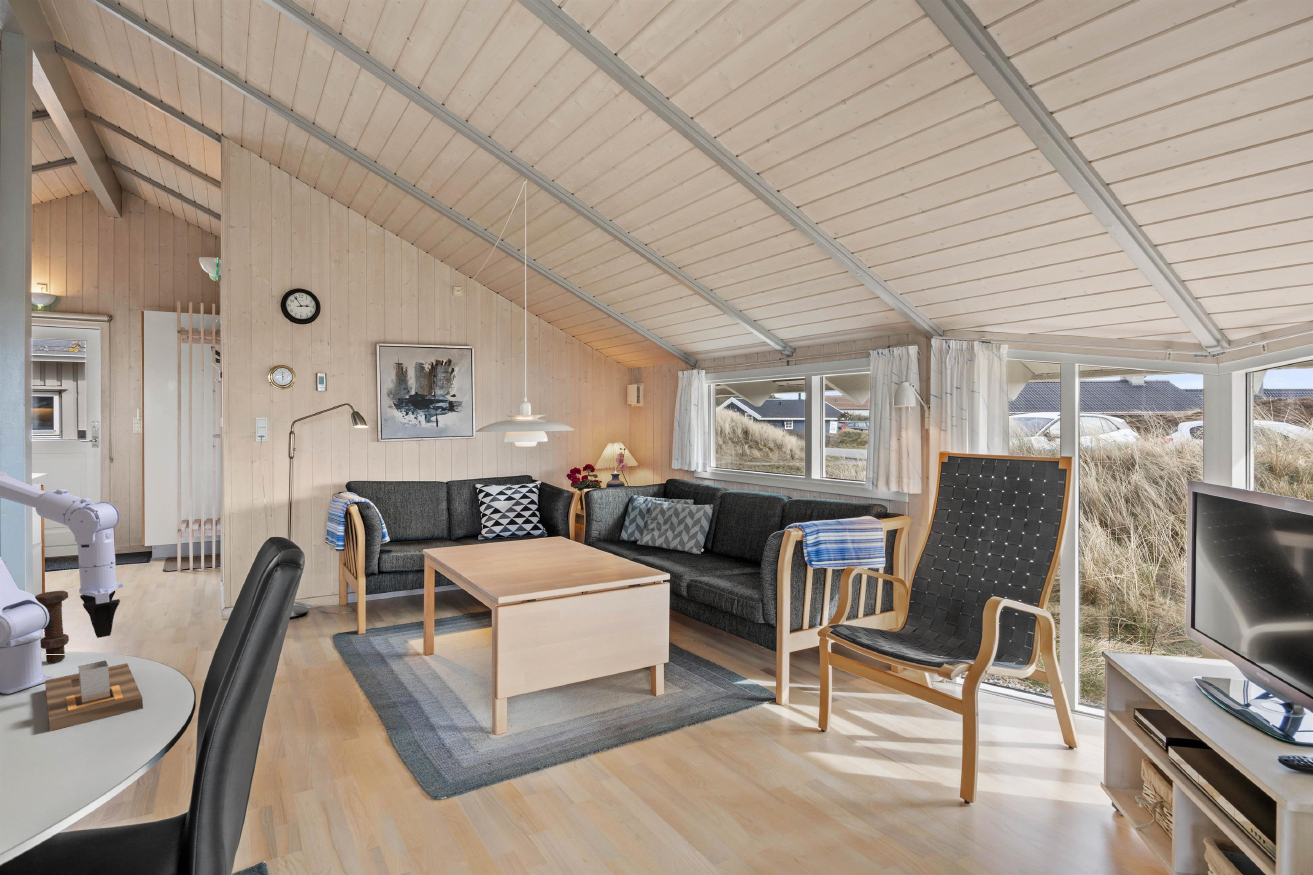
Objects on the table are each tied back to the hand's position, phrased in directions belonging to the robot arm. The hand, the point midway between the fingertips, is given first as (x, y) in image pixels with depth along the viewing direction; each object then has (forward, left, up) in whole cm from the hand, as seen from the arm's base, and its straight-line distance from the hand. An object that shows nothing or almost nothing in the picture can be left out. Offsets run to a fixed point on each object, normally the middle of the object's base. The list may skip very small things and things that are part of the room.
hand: (101, 631), depth 143 cm
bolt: (-24, +5, -11) cm, 27 cm away
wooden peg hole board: (+6, -6, -10) cm, 13 cm away
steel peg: (+11, -9, -10) cm, 18 cm away
